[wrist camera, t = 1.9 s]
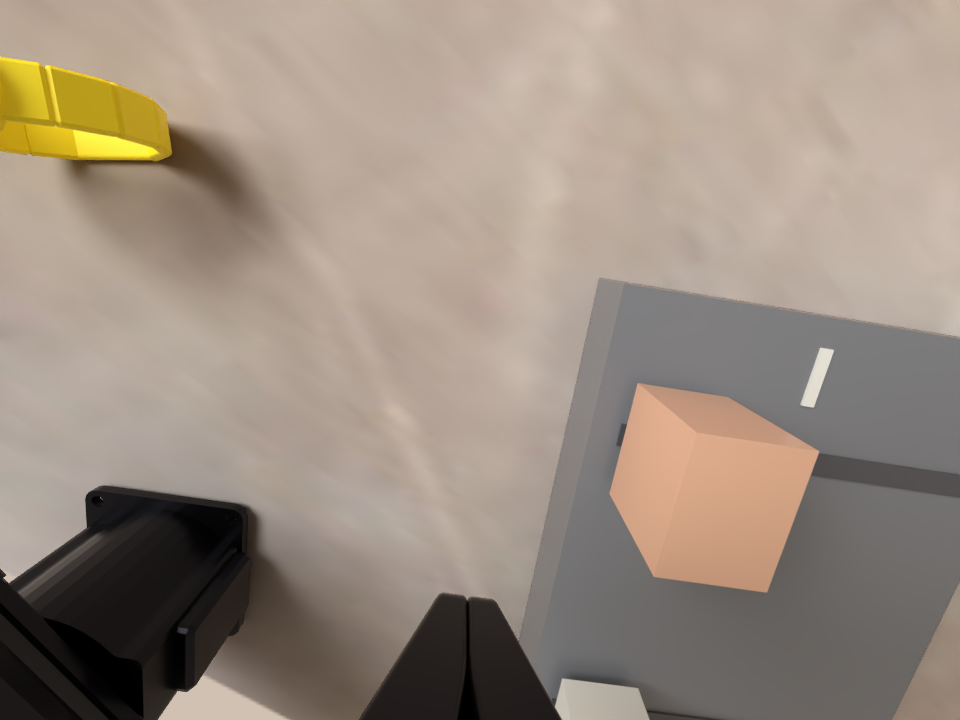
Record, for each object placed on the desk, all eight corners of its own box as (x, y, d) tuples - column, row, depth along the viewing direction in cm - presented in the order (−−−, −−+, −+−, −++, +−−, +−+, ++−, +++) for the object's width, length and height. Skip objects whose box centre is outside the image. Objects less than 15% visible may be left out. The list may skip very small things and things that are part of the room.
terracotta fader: (609, 493, 15) (653, 576, 11) (637, 383, 14) (696, 432, 10) (694, 506, 15) (766, 592, 11) (727, 397, 14) (819, 451, 11)
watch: (195, 99, 16) (52, 13, 10) (206, 183, 16) (78, 147, 11) (14, 94, 15) (-247, 0, 10) (33, 180, 16) (-199, 141, 10)
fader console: (501, 721, 22) (504, 795, 19) (599, 277, 17) (625, 283, 14) (791, 757, 23) (838, 834, 20) (971, 338, 18) (1073, 357, 15)
